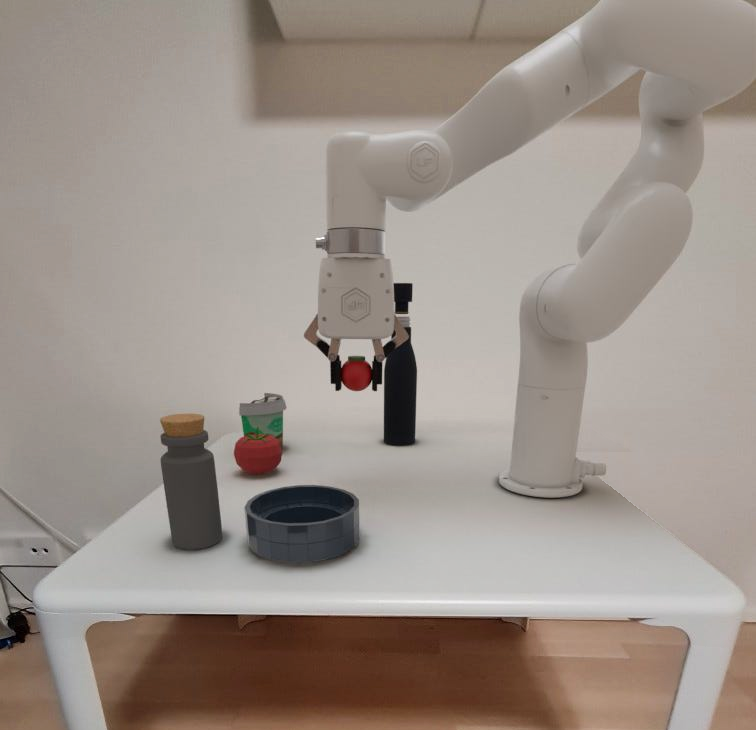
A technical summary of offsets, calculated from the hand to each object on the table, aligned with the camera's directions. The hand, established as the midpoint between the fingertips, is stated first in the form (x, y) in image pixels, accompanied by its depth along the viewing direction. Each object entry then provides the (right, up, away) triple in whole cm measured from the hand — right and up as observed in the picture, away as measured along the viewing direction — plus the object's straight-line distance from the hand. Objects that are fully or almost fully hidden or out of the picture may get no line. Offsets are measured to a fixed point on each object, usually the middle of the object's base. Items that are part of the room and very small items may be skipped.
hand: (356, 388), depth 77 cm
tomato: (-17, -11, +14) cm, 25 cm away
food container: (-17, -6, +28) cm, 33 cm away
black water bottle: (+7, -4, +34) cm, 35 cm away
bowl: (-6, -21, -11) cm, 25 cm away
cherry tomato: (0, 0, 0) cm, 0 cm away
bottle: (-19, -21, -11) cm, 30 cm away
